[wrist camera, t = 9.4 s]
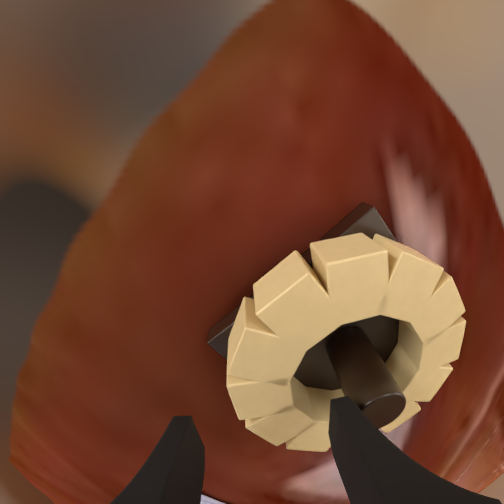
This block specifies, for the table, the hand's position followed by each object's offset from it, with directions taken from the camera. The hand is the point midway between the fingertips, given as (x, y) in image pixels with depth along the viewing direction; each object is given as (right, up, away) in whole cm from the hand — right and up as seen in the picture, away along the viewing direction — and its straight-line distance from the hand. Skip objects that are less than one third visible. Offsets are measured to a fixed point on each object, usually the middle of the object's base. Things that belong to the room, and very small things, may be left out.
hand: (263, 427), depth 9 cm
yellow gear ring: (+4, +2, +4) cm, 6 cm away
